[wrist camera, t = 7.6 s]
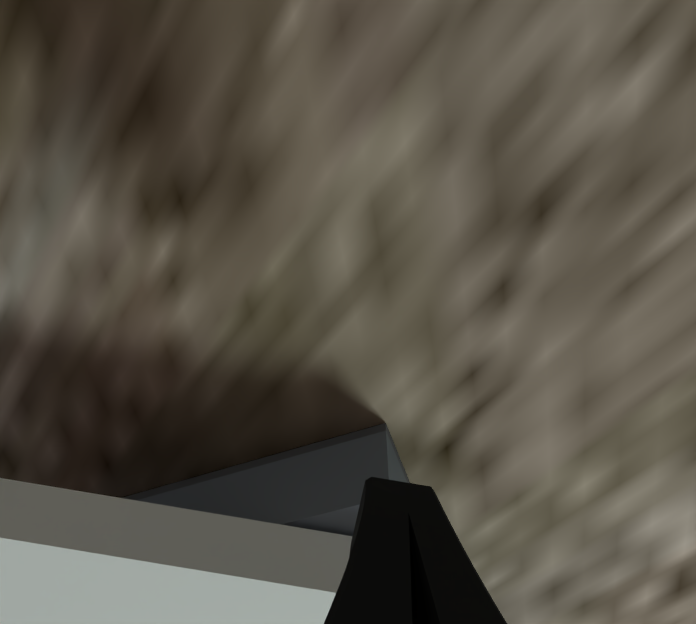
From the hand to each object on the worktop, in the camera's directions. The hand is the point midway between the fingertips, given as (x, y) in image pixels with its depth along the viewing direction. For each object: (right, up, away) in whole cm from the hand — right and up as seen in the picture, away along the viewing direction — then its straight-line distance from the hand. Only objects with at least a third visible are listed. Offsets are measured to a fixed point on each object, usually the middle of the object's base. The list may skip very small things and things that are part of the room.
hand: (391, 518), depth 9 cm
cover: (-6, -6, +7) cm, 11 cm away
